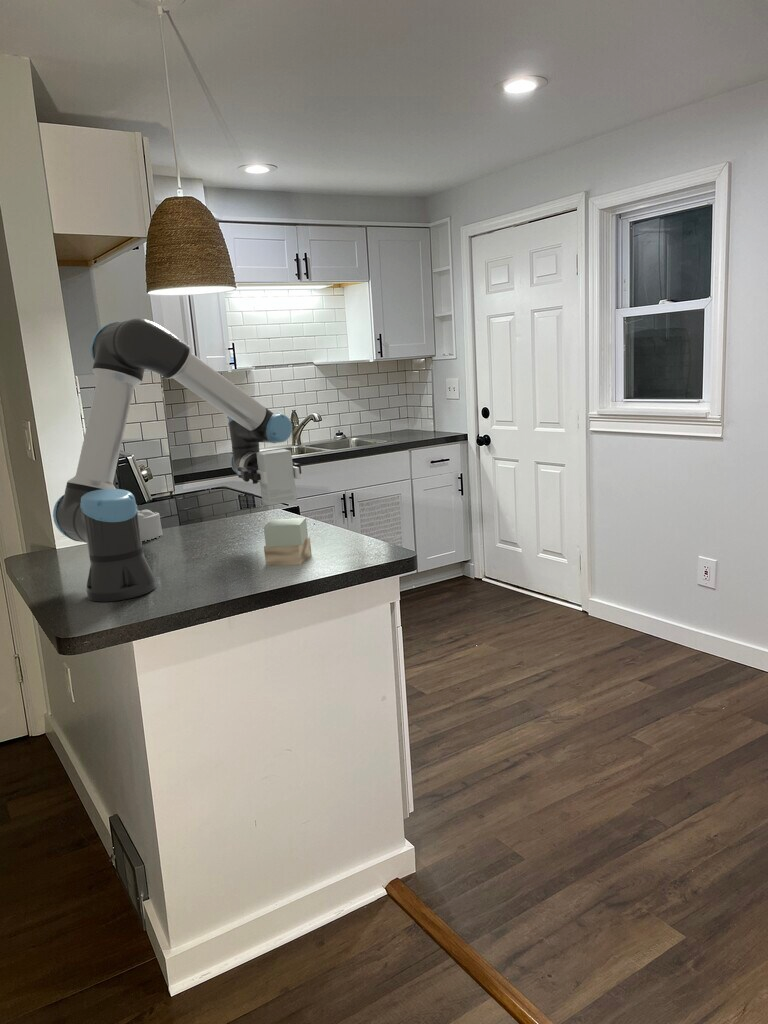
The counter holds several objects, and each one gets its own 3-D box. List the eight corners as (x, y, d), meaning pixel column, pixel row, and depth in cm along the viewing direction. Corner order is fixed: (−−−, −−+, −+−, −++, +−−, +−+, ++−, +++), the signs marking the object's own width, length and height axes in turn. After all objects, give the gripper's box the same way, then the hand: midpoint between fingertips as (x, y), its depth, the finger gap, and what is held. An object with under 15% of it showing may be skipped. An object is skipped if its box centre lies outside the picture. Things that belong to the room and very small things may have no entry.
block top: (301, 544, 187) (299, 524, 186) (265, 547, 188) (263, 527, 187) (307, 536, 196) (305, 517, 195) (273, 538, 196) (271, 519, 195)
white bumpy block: (117, 539, 236) (113, 512, 235) (160, 532, 241) (156, 505, 240) (120, 545, 227) (116, 517, 225) (165, 538, 232) (161, 510, 230)
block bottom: (300, 565, 187) (298, 545, 186) (266, 566, 189) (263, 546, 188) (311, 555, 196) (309, 536, 195) (278, 556, 198) (276, 537, 197)
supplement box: (297, 501, 187) (292, 450, 185) (268, 505, 185) (262, 454, 182) (290, 497, 194) (284, 448, 192) (261, 501, 192) (255, 451, 189)
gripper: (294, 475, 209) (323, 484, 189) (221, 486, 201) (242, 497, 180) (291, 448, 208) (320, 454, 187) (217, 458, 200) (239, 466, 179)
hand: (282, 475), depth 184 cm, fingers closed on supplement box, 7 cm apart
